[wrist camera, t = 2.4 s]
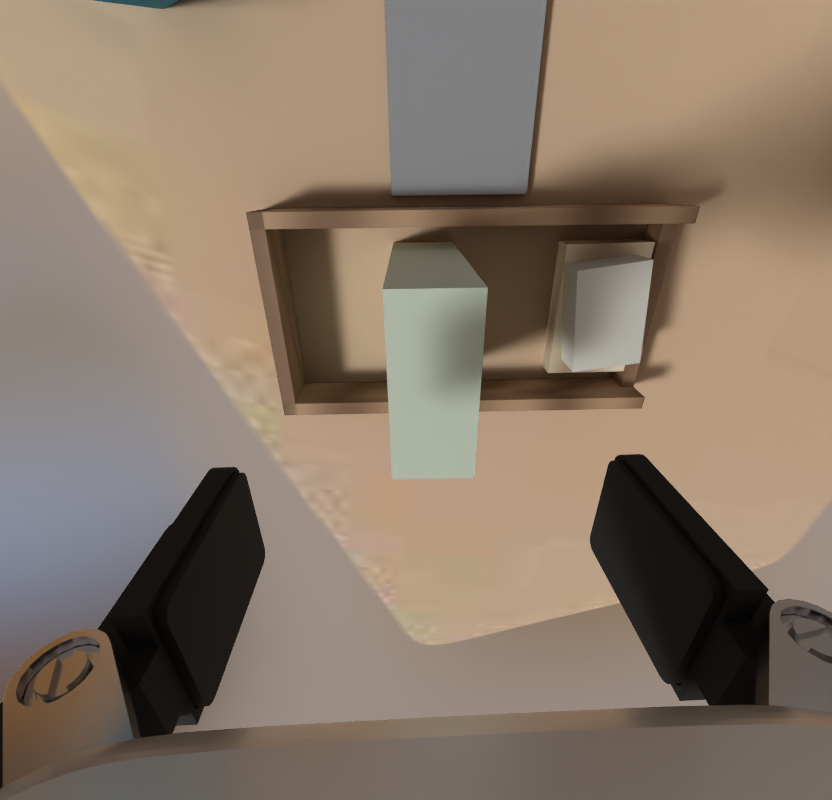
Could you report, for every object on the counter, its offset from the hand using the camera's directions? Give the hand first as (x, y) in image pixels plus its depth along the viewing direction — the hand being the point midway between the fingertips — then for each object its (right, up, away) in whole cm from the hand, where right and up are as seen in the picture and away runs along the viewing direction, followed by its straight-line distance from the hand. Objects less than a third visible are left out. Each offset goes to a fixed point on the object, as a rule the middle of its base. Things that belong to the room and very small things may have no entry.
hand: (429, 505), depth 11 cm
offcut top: (+11, +8, +14) cm, 19 cm away
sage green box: (0, +9, +15) cm, 18 cm away
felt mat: (+2, +19, +10) cm, 22 cm away
